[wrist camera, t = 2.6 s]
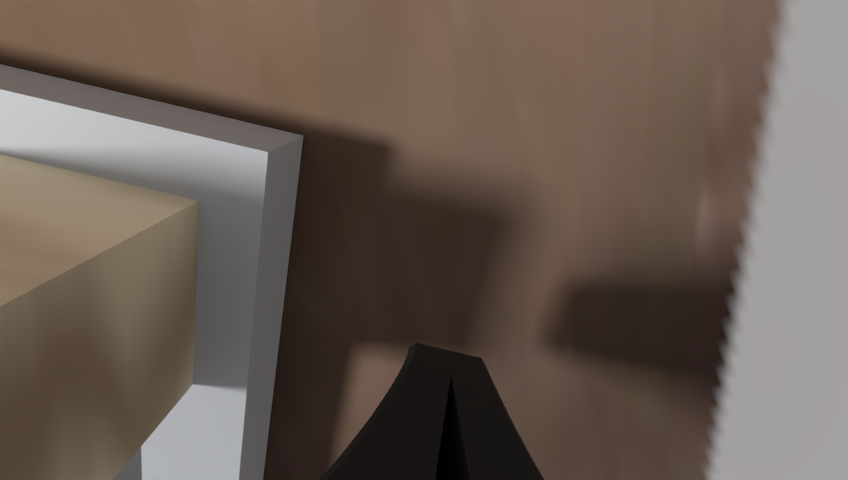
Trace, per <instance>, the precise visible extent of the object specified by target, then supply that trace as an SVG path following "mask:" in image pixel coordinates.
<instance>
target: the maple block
mask: <svg viewBox="0 0 848 480" xmlns="http://www.w3.org/2000/svg"><path fill="white" fill-rule="evenodd" d="M198 220H199V200H195V199H190V198H186V197H182V196H177V195H173V194H169V193H165V192H160V191H156V190H152V189H148V188H143V187H139V186H135V185H130V184H126V183H122V182H118V181H113V180H109V179H105V178H101V177H96V176H92V175H88V174H84V173H79V172H75V171H71V170H66V169H62V168H58V167H54V166H49V165H45V164H41V163H37V162H32V161H28V160H24V159H19V158H15V157H11V156H7V155H2V154H0V480H114V478H115V477H116V476H117V475H118V474H119V472H120V471H121V470H122V469H123V468H124V466H125V465H126V464H127V463H128V462H129V460H130V459H131V458H132V457H133V456H134V454H135V453H136V452H137V451H138V450H139V448H140V447H141V446H142V445H143V444H144V442H145V441H146V440H147V439H148V438H149V436H150V435H151V434H152V433H153V432H154V430H155V429H156V428H157V427H158V426H159V424H160V423H161V422H162V421H163V420H164V418H165V417H166V416H167V415H168V414H169V412H170V411H171V410H172V409H173V408H174V406H175V405H176V404H177V403H178V402H179V400H180V399H181V398H182V397H183V396H184V394H185V393H186V392H187V391H188V390H189V388H190V387H191V386H192V385H193V369H194V339H195V310H196V280H197V250H198Z"/></svg>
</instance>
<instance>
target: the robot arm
mask: <svg viewBox="0 0 848 480" xmlns="http://www.w3.org/2000/svg"><path fill="white" fill-rule="evenodd" d="M320 480H544V479H543V477H542V475H541V474H540V472H539V470H538V468H537V467H536V465H535V463H534V461H533V459H532V458H531V456H530V454H529V452H528V450H527V448H526V447H525V445H524V443H523V441H522V439H521V437H520V435H519V434H518V432H517V430H516V428H515V426H514V424H513V422H512V420H511V418H510V416H509V414H508V412H507V410H506V408H505V406H504V404H503V402H502V400H501V398H500V396H499V394H498V392H497V389H496V387H495V385H494V383H493V381H492V379H491V376H490V374H489V372H488V370H487V368H486V365H485V364H484V362H483V360H482V359H481V358H478V357H474V356H470V355H465V354H461V353H457V352H453V351H448V350H444V349H440V348H436V347H431V346H427V345H423V344H418V343H416V344H414V345H412V346H410V347H409V350H408V354H407V357H406V359H405V362H404V364H403V366H402V368H401V370H400V372H399V374H398V376H397V377H396V379H395V381H394V383H393V384H392V386H391V388H390V389H389V391H388V392H387V394H386V395H385V397H384V398H383V400H382V401H381V403H380V404H379V406H378V407H377V409H376V410H375V412H374V413H373V415H372V416H371V417H370V419H369V420H368V421H367V423H366V424H365V425H364V427H363V428H362V429H361V430H360V432H359V433H358V434H357V435H356V437H355V438H354V439H353V440H352V442H351V443H350V444H349V446H348V447H347V448H346V449H345V451H344V452H343V453H342V454H341V456H340V457H339V458H338V459H337V460H336V462H335V463H334V464H333V465H332V466H331V467H330V468H329V470H328V471H327V472H326V473H325V474H324V475H323V476H322V478H321V479H320Z"/></svg>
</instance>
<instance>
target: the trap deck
mask: <svg viewBox="0 0 848 480" xmlns="http://www.w3.org/2000/svg"><path fill="white" fill-rule="evenodd" d="M302 145H303V135H299V134H295V133H291V132H286V131H282V130H278V129H274V128H269V127H265V126H261V125H257V124H252V123H248V122H244V121H240V120H235V119H231V118H227V117H223V116H219V115H214V114H210V113H206V112H202V111H197V110H193V109H189V108H185V107H180V106H176V105H172V104H168V103H163V102H159V101H155V100H151V99H146V98H142V97H138V96H134V95H129V94H125V93H121V92H117V91H112V90H108V89H104V88H100V87H95V86H91V85H87V84H83V83H78V82H74V81H70V80H66V79H61V78H57V77H53V76H49V75H44V74H40V73H36V72H32V71H27V70H23V69H19V68H15V67H10V66H6V65H2V64H0V154H2V155H7V156H11V157H15V158H19V159H24V160H28V161H32V162H37V163H41V164H45V165H49V166H54V167H58V168H62V169H66V170H71V171H75V172H79V173H84V174H88V175H92V176H96V177H101V178H105V179H109V180H113V181H118V182H122V183H126V184H130V185H135V186H139V187H143V188H148V189H152V190H156V191H160V192H165V193H169V194H173V195H177V196H182V197H186V198H190V199H195V200H199V220H198V250H197V280H196V310H195V339H194V369H193V385H192V386H191V387H190V388H189V390H188V391H187V392H186V393H185V394H184V396H183V397H182V398H181V399H180V400H179V402H178V403H177V404H176V405H175V406H174V408H173V409H172V410H171V411H170V412H169V414H168V415H167V416H166V417H165V418H164V420H163V421H162V422H161V423H160V424H159V426H158V427H157V428H156V429H155V430H154V432H153V433H152V434H151V435H150V436H149V438H148V439H147V440H146V441H145V442H144V444H143V445H142V446H141V447H140V448H139V450H138V451H137V452H136V453H135V454H134V456H133V457H132V458H131V459H130V460H129V462H128V463H127V464H126V465H125V466H124V468H123V469H122V470H121V471H120V472H119V474H118V475H117V476H116V477H115V478H114V480H263V476H264V467H265V459H266V450H267V442H268V433H269V425H270V416H271V408H272V399H273V391H274V382H275V374H276V365H277V357H278V348H279V340H280V331H281V323H282V315H283V306H284V298H285V289H286V281H287V272H288V264H289V255H290V247H291V238H292V230H293V221H294V213H295V204H296V196H297V187H298V179H299V170H300V162H301V153H302Z"/></svg>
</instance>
